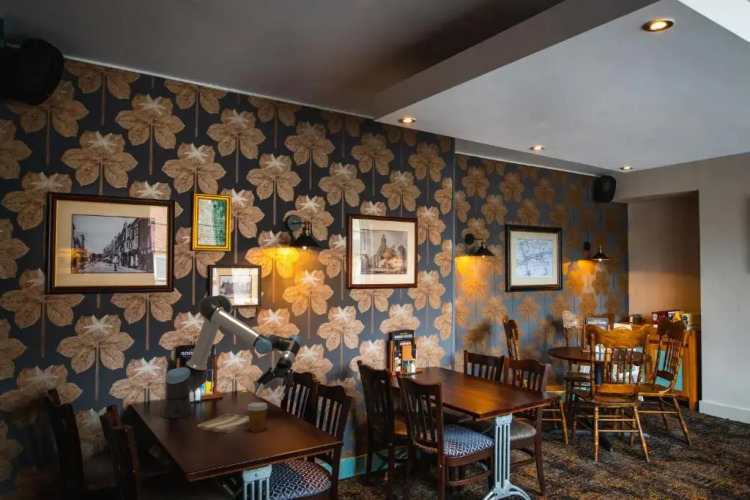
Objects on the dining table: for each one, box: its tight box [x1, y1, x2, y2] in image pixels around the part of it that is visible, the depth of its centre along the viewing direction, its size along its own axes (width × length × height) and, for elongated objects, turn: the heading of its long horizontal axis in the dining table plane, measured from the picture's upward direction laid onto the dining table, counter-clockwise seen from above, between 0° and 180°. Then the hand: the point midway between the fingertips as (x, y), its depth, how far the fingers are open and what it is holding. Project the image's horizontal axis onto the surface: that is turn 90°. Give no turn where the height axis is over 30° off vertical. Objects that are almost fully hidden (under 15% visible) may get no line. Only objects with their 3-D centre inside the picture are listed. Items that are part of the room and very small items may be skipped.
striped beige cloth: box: [197, 413, 250, 435], centre depth 250 cm, size 18×22×2 cm
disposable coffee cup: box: [247, 401, 269, 433], centre depth 242 cm, size 10×10×12 cm
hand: (268, 397), depth 251 cm, fingers open, 13 cm apart
